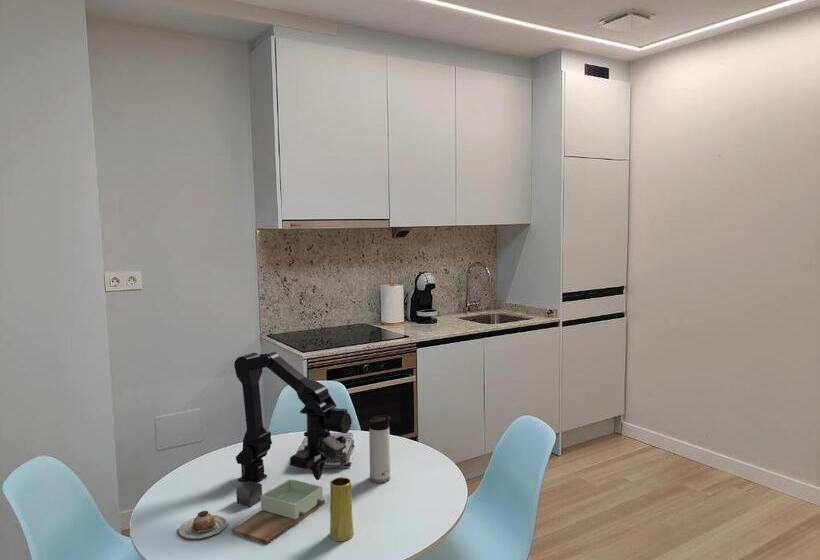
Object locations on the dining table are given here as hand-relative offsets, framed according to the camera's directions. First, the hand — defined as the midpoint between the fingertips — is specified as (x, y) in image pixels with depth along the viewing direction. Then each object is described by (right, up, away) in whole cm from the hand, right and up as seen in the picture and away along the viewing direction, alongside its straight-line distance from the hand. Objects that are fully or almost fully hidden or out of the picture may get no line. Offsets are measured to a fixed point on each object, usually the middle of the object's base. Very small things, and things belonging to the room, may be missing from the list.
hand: (317, 479), depth 172 cm
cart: (-6, -4, -10) cm, 12 cm away
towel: (-1, -2, +24) cm, 24 cm away
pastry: (-27, -7, -20) cm, 34 cm away
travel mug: (+18, -3, +9) cm, 20 cm away
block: (-19, -5, -5) cm, 20 cm away
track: (-8, -5, -15) cm, 17 cm away
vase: (+10, -6, -24) cm, 27 cm away
